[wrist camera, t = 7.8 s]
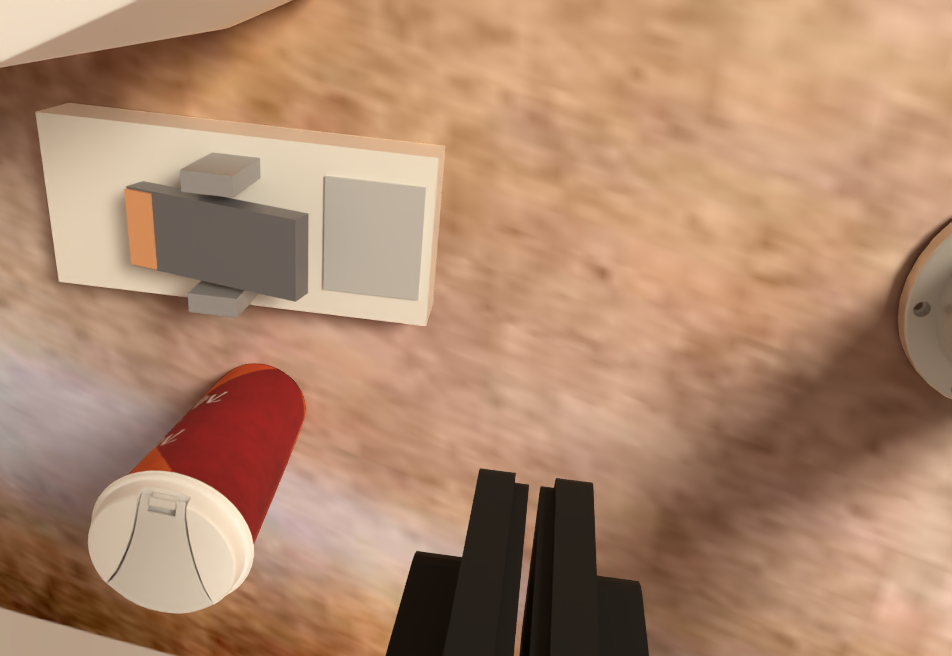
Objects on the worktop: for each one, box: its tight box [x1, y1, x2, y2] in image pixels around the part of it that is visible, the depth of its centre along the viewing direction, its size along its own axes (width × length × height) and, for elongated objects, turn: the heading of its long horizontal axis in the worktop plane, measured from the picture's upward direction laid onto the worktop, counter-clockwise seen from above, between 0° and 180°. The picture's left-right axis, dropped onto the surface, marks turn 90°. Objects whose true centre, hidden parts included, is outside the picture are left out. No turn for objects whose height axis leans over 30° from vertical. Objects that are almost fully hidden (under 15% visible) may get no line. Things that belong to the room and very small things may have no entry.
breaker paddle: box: [124, 181, 309, 302], centre depth 37 cm, size 9×4×1 cm, turn 84°
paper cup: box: [88, 364, 306, 613], centre depth 41 cm, size 8×8×14 cm
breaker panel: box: [35, 103, 446, 326], centre depth 39 cm, size 20×9×7 cm, turn 84°
